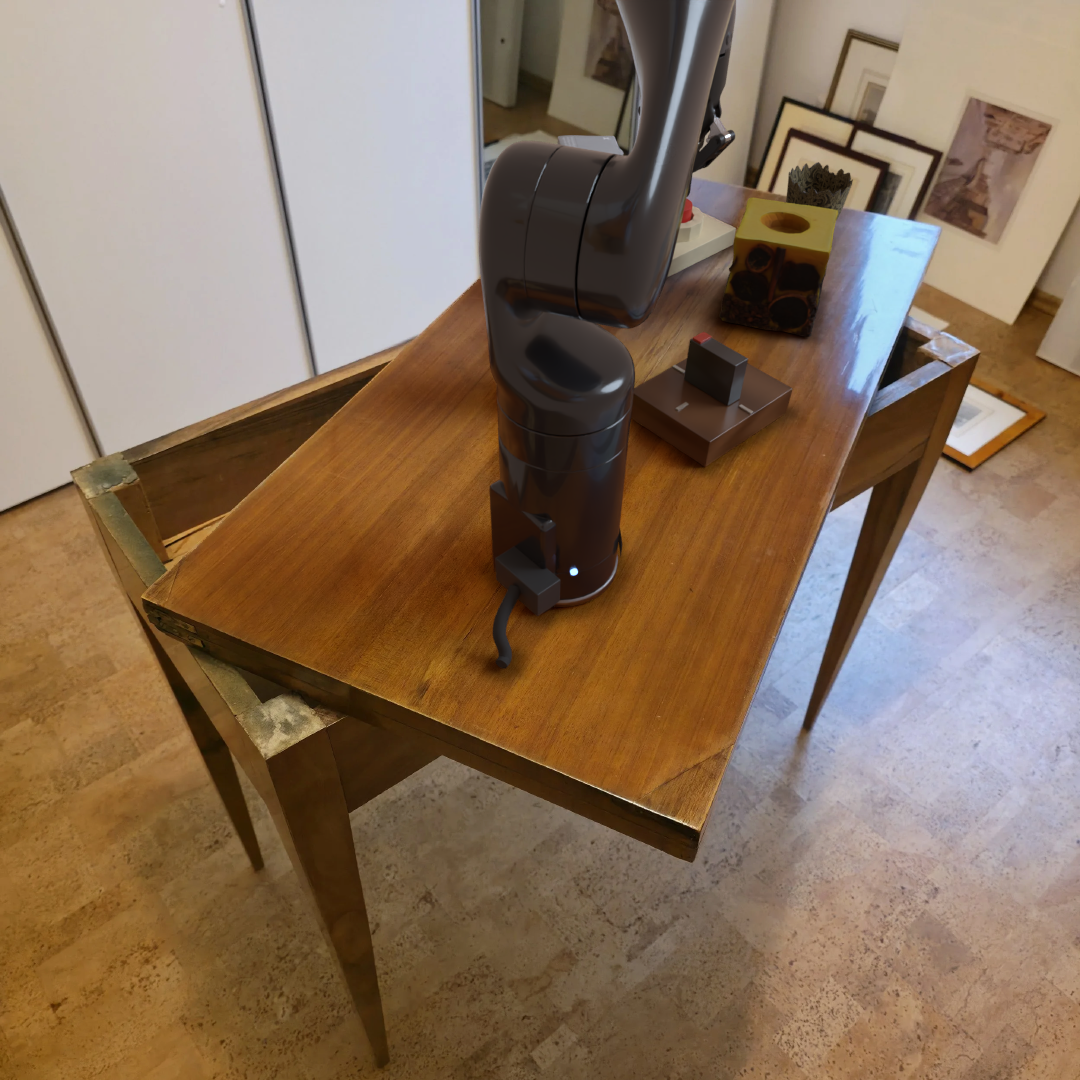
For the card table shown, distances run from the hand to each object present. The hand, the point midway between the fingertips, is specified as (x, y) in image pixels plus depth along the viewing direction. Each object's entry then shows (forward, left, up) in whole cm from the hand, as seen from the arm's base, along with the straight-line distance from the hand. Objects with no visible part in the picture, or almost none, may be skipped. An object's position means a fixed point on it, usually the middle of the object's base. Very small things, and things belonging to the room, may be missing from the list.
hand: (676, 199), depth 104 cm
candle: (-2, -17, -6) cm, 18 cm away
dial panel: (-22, -25, -6) cm, 34 cm away
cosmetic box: (-15, 0, -6) cm, 16 cm away
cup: (+14, -10, -6) cm, 18 cm away
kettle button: (0, 0, -2) cm, 2 cm away
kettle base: (0, 0, -6) cm, 6 cm away
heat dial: (-22, -25, -3) cm, 33 cm away
